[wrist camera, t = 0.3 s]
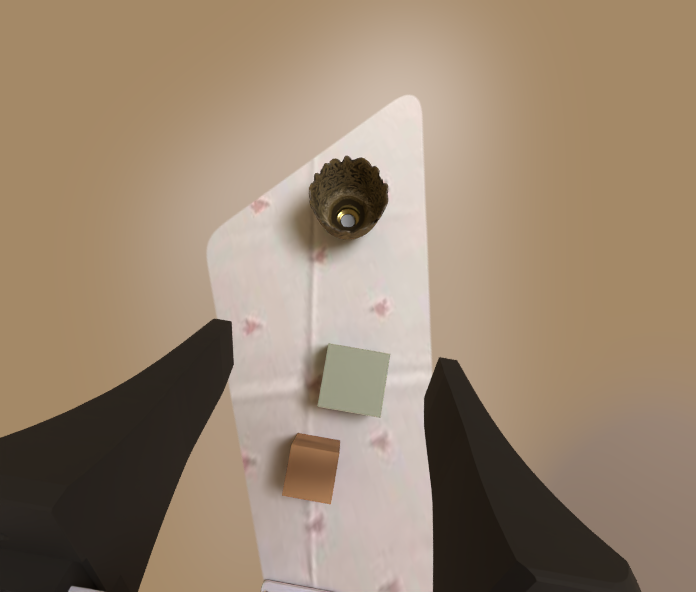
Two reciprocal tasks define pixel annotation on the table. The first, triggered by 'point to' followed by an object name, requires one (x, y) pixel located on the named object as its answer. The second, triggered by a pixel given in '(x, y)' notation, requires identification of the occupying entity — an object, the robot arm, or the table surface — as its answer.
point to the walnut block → (312, 468)
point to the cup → (348, 196)
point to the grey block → (354, 380)
